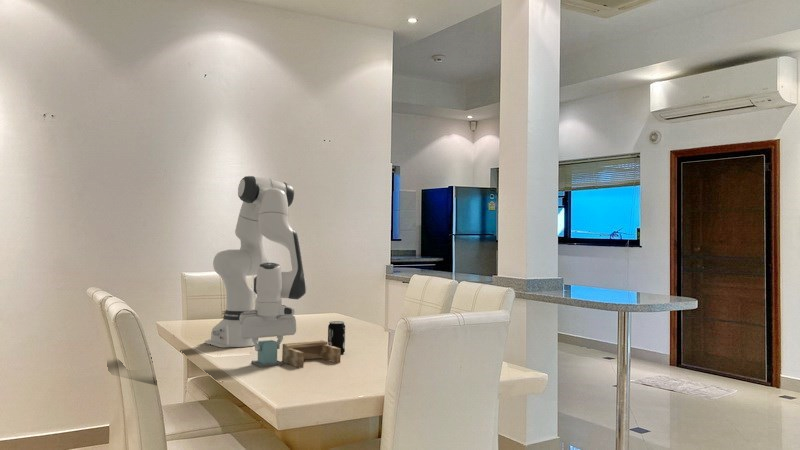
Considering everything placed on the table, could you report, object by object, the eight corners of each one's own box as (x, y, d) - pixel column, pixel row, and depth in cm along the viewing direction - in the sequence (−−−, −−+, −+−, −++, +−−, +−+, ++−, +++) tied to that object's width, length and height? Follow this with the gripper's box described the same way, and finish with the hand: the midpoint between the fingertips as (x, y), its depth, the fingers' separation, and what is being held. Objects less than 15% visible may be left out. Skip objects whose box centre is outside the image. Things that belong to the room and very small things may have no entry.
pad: (251, 363, 204) (251, 360, 204) (273, 360, 208) (273, 358, 208) (260, 367, 197) (260, 365, 197) (282, 364, 202) (282, 362, 202)
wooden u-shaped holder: (282, 360, 208) (282, 344, 209) (321, 356, 218) (322, 340, 218) (299, 367, 198) (299, 349, 198) (340, 362, 207) (340, 345, 207)
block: (257, 361, 203) (258, 341, 204) (271, 359, 206) (271, 339, 206) (263, 363, 199) (263, 343, 199) (277, 362, 202) (277, 341, 202)
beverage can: (341, 355, 220) (342, 323, 221) (325, 354, 222) (325, 322, 222) (346, 352, 227) (347, 321, 227) (330, 351, 228) (331, 320, 229)
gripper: (243, 312, 195) (241, 354, 194) (298, 309, 207) (297, 348, 206) (236, 310, 200) (234, 351, 199) (290, 307, 212) (289, 345, 211)
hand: (267, 349), depth 203 cm, fingers open, 5 cm apart
